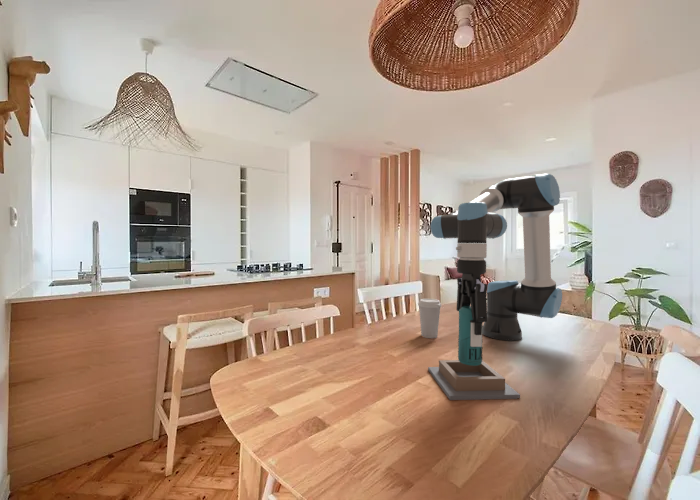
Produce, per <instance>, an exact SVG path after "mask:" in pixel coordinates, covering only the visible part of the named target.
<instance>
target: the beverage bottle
mask: <svg viewBox="0 0 700 500" xmlns="http://www.w3.org/2000/svg"><path fill="white" fill-rule="evenodd" d="M463 303H467V304H470V297H468V295H463ZM470 320H473V319H472V311H471V304H470V306H463V307H462V308H461V309H460V310H459V311H458V336H457V337H458V339H457V341H458V342H457V347H458V348H457V357H458V359H457V360H459V362H461V363H463V364H466V365H471V366H477V365H480V364H481V363H482V360H483V357H484V355H483V346H482V347H471V346H470V344H471V322H470ZM482 331H483V330H482ZM482 344H483V340H482Z"/></svg>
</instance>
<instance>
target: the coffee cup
mask: <svg viewBox="0 0 700 500" xmlns="http://www.w3.org/2000/svg"><path fill="white" fill-rule="evenodd" d="M417 306H418V308H419V309H418V311H419V320H420V334H421V335H420V336H421V337H422V336H423V337H422V338H426V339H436V338H438V333H439V323H440V316H441V315H440V314H441V307H442V303H441V302H440V300H439V299H436V298H421V299H419V302H418V303H417Z"/></svg>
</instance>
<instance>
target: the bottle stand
mask: <svg viewBox="0 0 700 500" xmlns="http://www.w3.org/2000/svg"><path fill="white" fill-rule="evenodd" d="M427 370H428V372H429V374H430V375H431V376H432V378H433V379H434V380H435V382H436V383H437V385H438V386H439V387H440V389H441V390H442V391H443V392H444V394H445V395H446V397H447V399H448V400H449V401H464V400H465V401H467V400H510V399H511V400H513V399H514V400H516V399H517V398H520V399H521V394H520V393H519V392H518V391H516V390H515V389H514V388H513V387H512V386H510V384H508V383H507V382H506V378H505V377H504V376H503V375H501V374H500V373H499V372H497V371H496V370H495V369H494V368H493V367H491V366H490V365H489V364H488V363H486V362H485V361H484V360H483V359H482V363H481V364H480V365H477V366H471V365H466V364H463V363H461V362H459V359H449V360H448V359H446V360H445V359H439V360H438V366H427ZM517 400H518V399H517Z"/></svg>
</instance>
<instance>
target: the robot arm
mask: <svg viewBox="0 0 700 500" xmlns="http://www.w3.org/2000/svg"><path fill="white" fill-rule="evenodd" d="M560 192H561V191H560V187H559V184H558V181H557V179H556V177H555V176H554V175H553V174H551V173H542V174H541V173H538V174H533V175H526V176H520V177H514V178H512V177H511V178H506V179H503V180H501V181H500V180H499V182H496V183H493V184H492V185H489V186H488V187H486V188H485V189H483V190H481V192H480V193H479V195H478V196H476V197H475V198H473V199H471V200H470V201H468V202H464V203H463V202H462V203H460V204H459V205H458V207H457V208H456V209H455V210H453V211H452V212H450V213H448V214H446V215H443V214H442V215H437V216H434V217H433V218H432V220H431V222H430V231H431V235H433V238H437V239H444V240H446V239H457V242H456V244H457V246H456V247H455V250H456V251H457V253H456V255H457V256H456V257H457V258H459V259H457V260H456V271H457V273H458V274H462V275H461V277H457V279H456V281H457V283H456V284H457V293H456V294H457V295H456V311H457V312H459V310H460V309H461V308H462V307H463V306H471V311H472V319H473V320H470V322H471V344H470V346H471V347H483V343H482V341H483V336H484V337H487V338H491V339H495V340H499V341H500V340H502V341H519V340H521V339H522V338H523V332H522V329H521V325H520V322H519V320H518V314H521V315H527V316H533V317H537V318H544V319H545V318H546V319H553V318H555V317H557V315H558V314H559V311H560V308H561V305H562V303H563V302H562V301H563V291H562V289H561V288H559V287H557V282H556V281H555V280H554V279H552V275H551V273H552V271H551V270H552V267H551V266H552V265H551V233H550V230H551V229H550V215H551V214H552V213H553V212H554V211H555V207H556V206H558V205H559V204H560V201H561V200H560V198H561V193H560ZM505 209H517V214H519V215H520V216H521V217H522V232H523V259H524V260H523V261H524V262H523V263H524V278H523V279H522V280H521V281H520V282H519V280H516V279H515V280H508V279H507V280H495V281H490V282H489V283H488V284H487V283H483V282H482V278H481V276H482V275H484V274H486V273H487V261H486V260H485V259H486V258H487V251H488V250H487V249H488V245H487V239H492V240H493V239H496V238H500V237H502V236H503V235H504V234H505V233H506V231H507V229H508V223H507V222H508V221H507V220H506V218H505V217H504V216H503V215H501V214H499V213H496V212H498V211H500V210H505ZM463 295H468V297H470V304H467V303H463ZM482 330H483V331H482Z"/></svg>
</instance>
